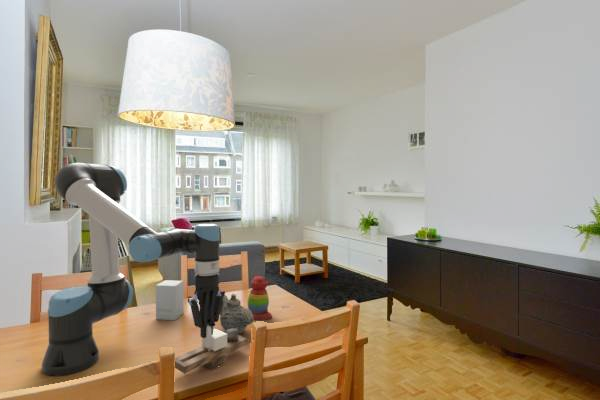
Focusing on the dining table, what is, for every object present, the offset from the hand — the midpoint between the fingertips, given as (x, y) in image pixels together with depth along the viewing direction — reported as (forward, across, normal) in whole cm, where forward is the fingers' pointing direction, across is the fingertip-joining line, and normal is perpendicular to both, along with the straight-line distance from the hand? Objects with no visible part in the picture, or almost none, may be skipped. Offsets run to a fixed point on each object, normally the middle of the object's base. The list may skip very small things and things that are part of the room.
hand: (206, 346), depth 109 cm
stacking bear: (+7, +41, +18) cm, 45 cm away
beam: (+6, +2, 0) cm, 7 cm away
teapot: (+7, +23, +14) cm, 28 cm away
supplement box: (+7, +15, +47) cm, 50 cm away
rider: (+3, +3, 0) cm, 4 cm away
